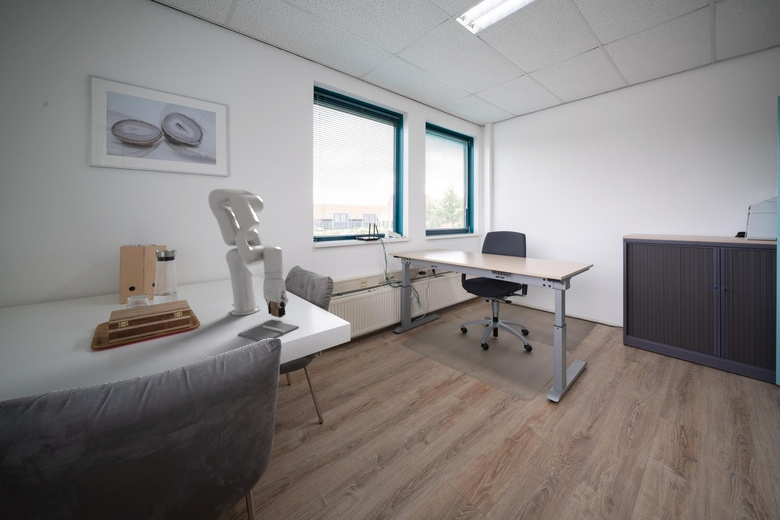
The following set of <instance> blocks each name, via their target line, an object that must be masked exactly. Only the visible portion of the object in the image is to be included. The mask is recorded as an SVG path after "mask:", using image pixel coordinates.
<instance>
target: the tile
mask: <svg viewBox="0 0 780 520" xmlns="http://www.w3.org/2000/svg"><path fill="white" fill-rule="evenodd" d="M280 303H281V304H282V302H280ZM270 306H271V314H270V315H271V316H272V317H274V318H275V317H276V318H284V316H281V317H279V316H278V308H279V306H278V303H276V302H272V301H270Z"/></svg>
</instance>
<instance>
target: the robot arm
mask: <svg viewBox="0 0 780 520" xmlns="http://www.w3.org/2000/svg"><path fill="white" fill-rule="evenodd" d="M207 198H208V201H207V202H208V205H209V208H210V211H211V213H212V215H213V216H214V217H215V219H216V221H217V224H218V227H219V230H220V234H221V236H222V239H223V241H224V243H225V245H226V246H228V247H234V248H232V249H230V250H228V251H227V252H226V253H225V260H226V264H227V267H228V270H229V274H230V283H231V288H232V298H233V303H232V305H231V306H232V307H233V308H234V309H233V310H231V312H230V313H231V315H232V316H236V317H237V316H248V315H252V314H255V313H257V312H259V311H260V309H261V308H260V306H259V305H257V304H256V302H257V301H256V291H255V283H254V276H253V274H252V272H251V271H250V270H249V268H248V267H253V266H259V265H261V264H263V270H264V272H263V273H264V278H263V289H262V290H263V291H262V292H263V298H264V300H265V302H266V305H267V311H268V312H267V313H268V315H271V306H270V301H272V302H276V303H278V306H279V308H278V316H279V317H281V316H283V317H284V316H286V306H287V304H288V302H289V299H288V297H287V288H286V283H285V279H284V267H283V266H284V265H283V251H282V248H281V247H279V246H274V245H271V244H270V245H269V244H262V241H261V238H260V235H259V233H258V231H257V228H258V227H259V226H260V221H259V219H258V217H257V215H256V214H259V213H261V212H263V210H264V202H263V199H261V197H260V196H258V194H255V193H252V192H250V191H248V190H246V189H245V190H244V189H233V188H231V189H229V188H218V189H217V188H215V189H212V190H211V191H210V192H209V193H208V197H207ZM229 208H231V210H230V209H229ZM235 247H236V248H235ZM280 302H282V304H281V303H280ZM279 317H278V318H279ZM281 318H282V317H281Z"/></svg>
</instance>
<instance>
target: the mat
mask: <svg viewBox="0 0 780 520" xmlns="http://www.w3.org/2000/svg"><path fill="white" fill-rule="evenodd" d="M299 328H300V327H299V325H294V324H290V323H285V322H281V321H276V320H272V321H271V320H270V321H269V322H266V323H263V324H261V325H258V326H255V327H252V328H249V329H247V330H244V331H243V332H239V333H238V334H237V335H238V336H241V337H243V338H247V339H250V340H252V341H253V340H254V341H256V342H260V340H263V339H267V338H274V337H276V338H279V337H280V336H283V335H286V334H287V333H288V334H289V333H290V332H292V331H294V330H296V329H299ZM274 339H275V338H274Z"/></svg>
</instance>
